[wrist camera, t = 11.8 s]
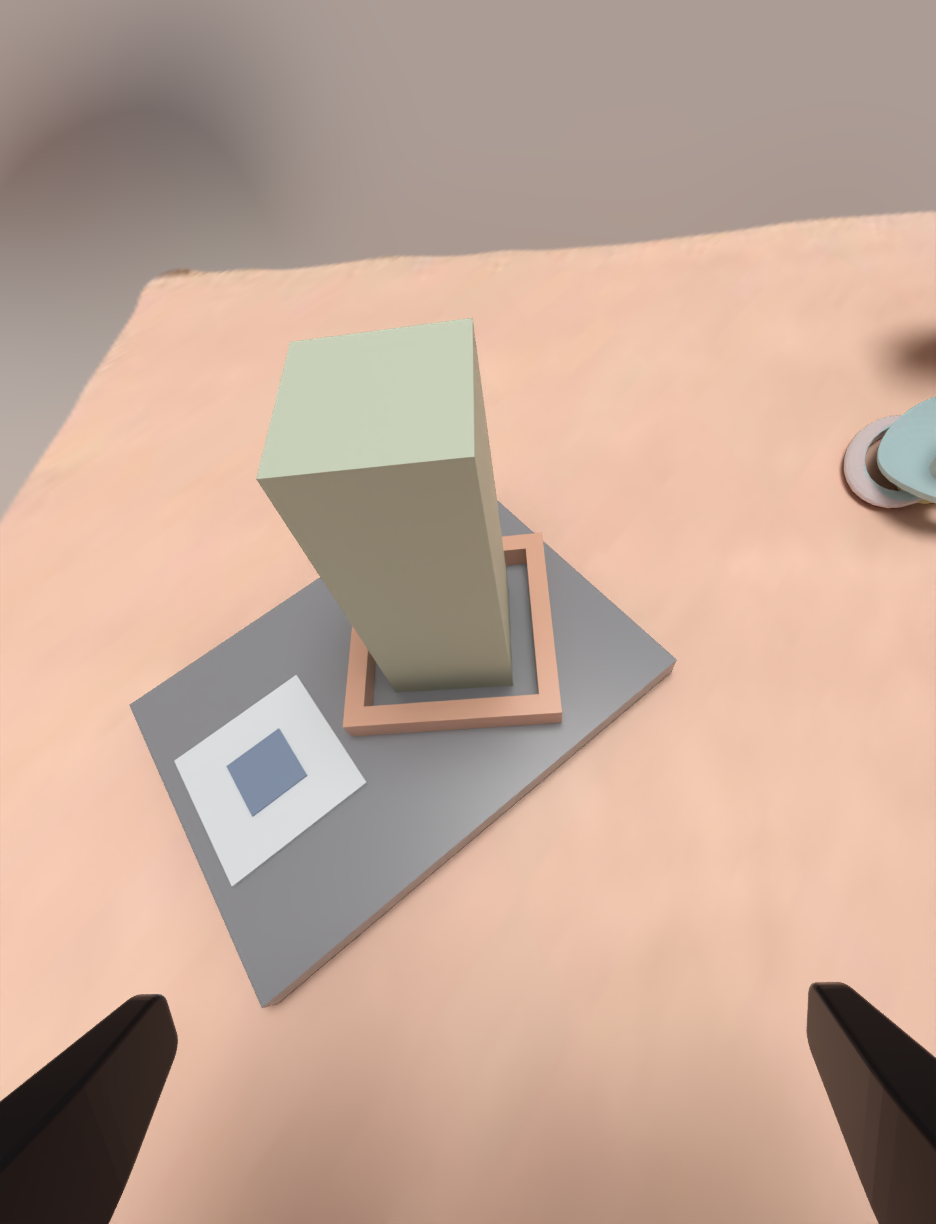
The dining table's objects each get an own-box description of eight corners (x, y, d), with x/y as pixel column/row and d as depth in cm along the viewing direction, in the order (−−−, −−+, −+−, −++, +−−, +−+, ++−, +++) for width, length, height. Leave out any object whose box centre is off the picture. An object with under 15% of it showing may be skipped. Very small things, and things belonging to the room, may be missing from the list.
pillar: (513, 685, 23) (474, 456, 12) (395, 692, 24) (256, 478, 13) (508, 584, 26) (472, 318, 15) (402, 592, 26) (290, 341, 15)
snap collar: (561, 722, 22) (561, 712, 21) (352, 736, 23) (342, 727, 22) (542, 548, 27) (542, 532, 26) (366, 565, 28) (359, 551, 26)
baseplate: (277, 1004, 20) (257, 1008, 19) (145, 713, 26) (125, 702, 25) (671, 671, 24) (678, 656, 23) (473, 492, 31) (469, 472, 29)
